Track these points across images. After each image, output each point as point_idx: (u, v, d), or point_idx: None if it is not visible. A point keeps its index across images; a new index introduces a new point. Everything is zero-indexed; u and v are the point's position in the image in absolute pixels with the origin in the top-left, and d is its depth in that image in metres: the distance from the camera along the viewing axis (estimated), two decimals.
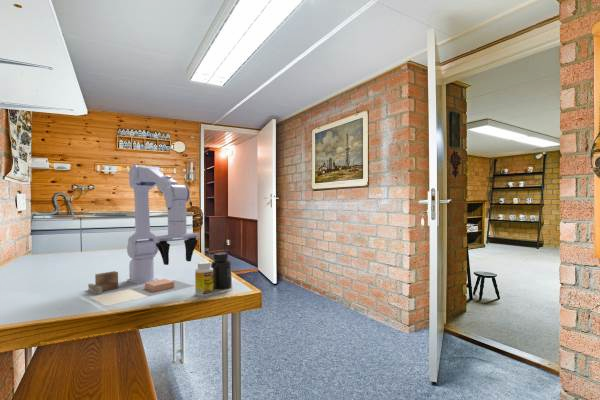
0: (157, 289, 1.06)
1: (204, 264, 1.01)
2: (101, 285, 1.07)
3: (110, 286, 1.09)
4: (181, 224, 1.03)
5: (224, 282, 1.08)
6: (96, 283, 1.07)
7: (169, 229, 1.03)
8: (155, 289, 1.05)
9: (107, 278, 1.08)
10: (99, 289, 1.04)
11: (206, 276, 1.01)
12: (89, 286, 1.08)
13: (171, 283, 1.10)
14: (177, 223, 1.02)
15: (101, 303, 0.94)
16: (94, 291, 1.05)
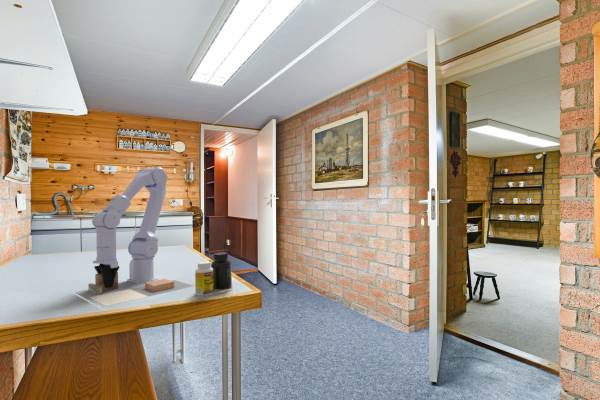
0: (157, 289, 1.06)
1: (204, 264, 1.01)
2: (101, 285, 1.07)
3: None
4: (97, 250, 1.07)
5: (224, 282, 1.08)
6: (96, 283, 1.07)
7: None
8: (155, 289, 1.05)
9: None
10: (99, 289, 1.04)
11: (206, 276, 1.01)
12: (89, 286, 1.08)
13: (171, 283, 1.10)
14: None
15: (101, 303, 0.94)
16: (94, 291, 1.05)
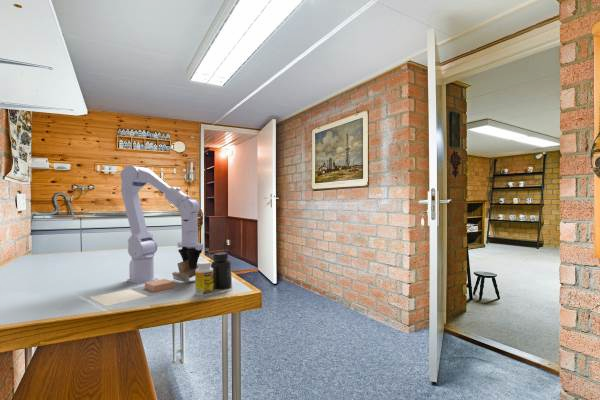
0: (157, 289, 1.06)
1: (204, 264, 1.01)
2: (185, 272, 1.16)
3: (192, 272, 1.18)
4: (183, 234, 1.17)
5: (224, 282, 1.08)
6: (180, 271, 1.16)
7: None
8: (155, 289, 1.05)
9: None
10: (186, 276, 1.13)
11: (206, 276, 1.01)
12: (174, 274, 1.18)
13: (171, 283, 1.10)
14: None
15: (101, 303, 0.94)
16: (181, 279, 1.15)
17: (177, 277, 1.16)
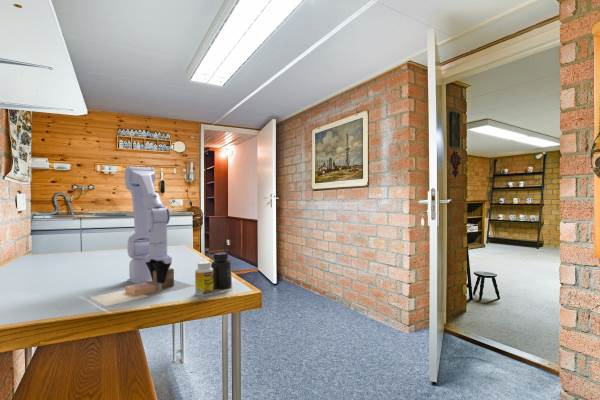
0: (138, 293, 1.01)
1: (204, 264, 1.01)
2: None
3: (166, 282, 1.11)
4: (150, 246, 1.08)
5: (224, 282, 1.08)
6: (154, 279, 1.09)
7: None
8: (135, 293, 1.01)
9: None
10: (159, 285, 1.05)
11: (206, 276, 1.01)
12: None
13: (153, 287, 1.05)
14: (149, 245, 1.09)
15: (101, 303, 0.94)
16: None
17: None
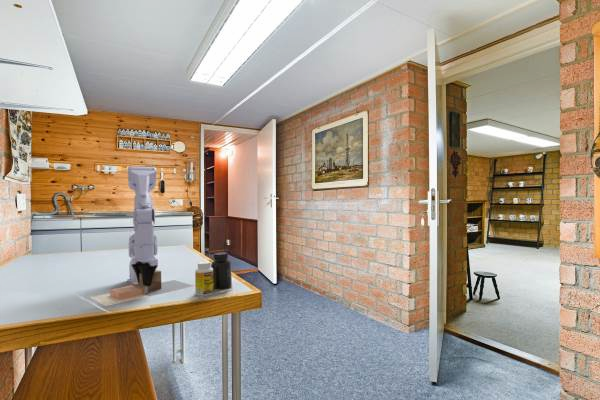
0: (122, 297, 0.98)
1: (204, 264, 1.01)
2: None
3: (153, 285, 1.07)
4: (135, 248, 1.04)
5: (224, 282, 1.08)
6: (140, 282, 1.06)
7: None
8: (120, 297, 0.97)
9: None
10: (145, 288, 1.02)
11: (206, 276, 1.01)
12: None
13: (139, 290, 1.01)
14: (134, 246, 1.05)
15: (101, 303, 0.94)
16: None
17: None
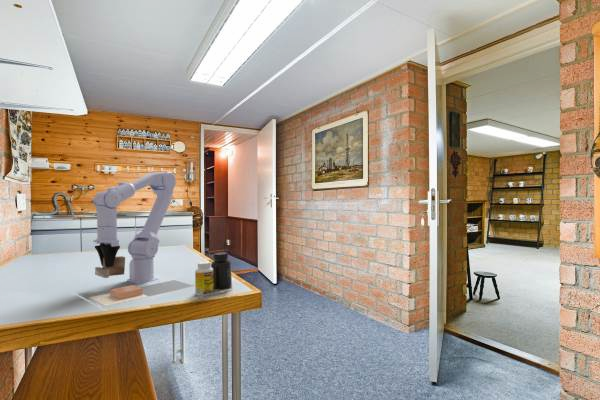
0: (122, 297, 0.98)
1: (204, 264, 1.01)
2: (108, 268, 1.08)
3: (116, 270, 1.10)
4: (98, 229, 1.07)
5: (224, 282, 1.08)
6: (103, 266, 1.09)
7: None
8: (120, 297, 0.97)
9: (115, 262, 1.10)
10: (106, 271, 1.05)
11: (206, 276, 1.01)
12: (96, 269, 1.10)
13: (139, 290, 1.01)
14: (97, 228, 1.08)
15: (101, 303, 0.94)
16: (101, 273, 1.06)
17: (98, 272, 1.08)
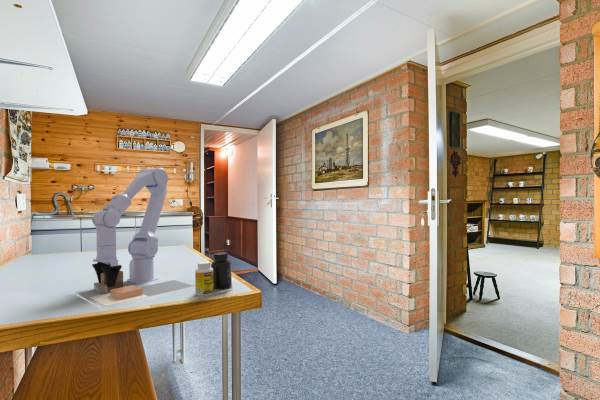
0: (122, 297, 0.98)
1: (204, 264, 1.01)
2: None
3: (115, 285, 1.10)
4: (97, 249, 1.07)
5: (224, 282, 1.08)
6: (102, 282, 1.09)
7: None
8: (120, 297, 0.97)
9: None
10: (105, 288, 1.05)
11: (206, 276, 1.01)
12: (95, 285, 1.09)
13: (139, 290, 1.01)
14: None
15: (101, 303, 0.94)
16: (100, 290, 1.06)
17: (97, 288, 1.08)
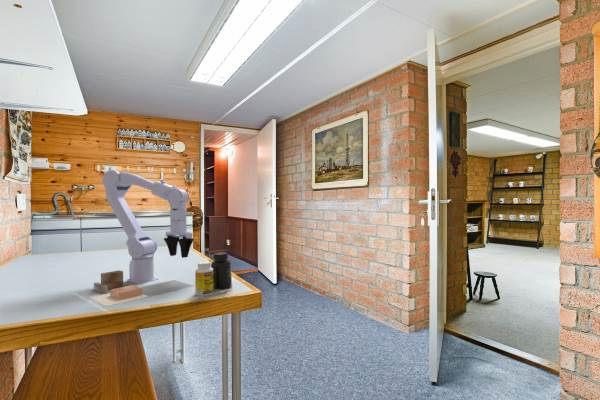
0: (122, 297, 0.98)
1: (204, 264, 1.01)
2: (107, 284, 1.08)
3: (115, 285, 1.10)
4: (171, 223, 1.19)
5: (224, 282, 1.08)
6: (102, 282, 1.09)
7: None
8: (120, 297, 0.97)
9: (113, 277, 1.09)
10: (105, 288, 1.05)
11: (206, 276, 1.01)
12: (95, 285, 1.09)
13: (139, 290, 1.01)
14: (170, 222, 1.20)
15: (101, 303, 0.94)
16: (100, 290, 1.06)
17: (97, 288, 1.08)
